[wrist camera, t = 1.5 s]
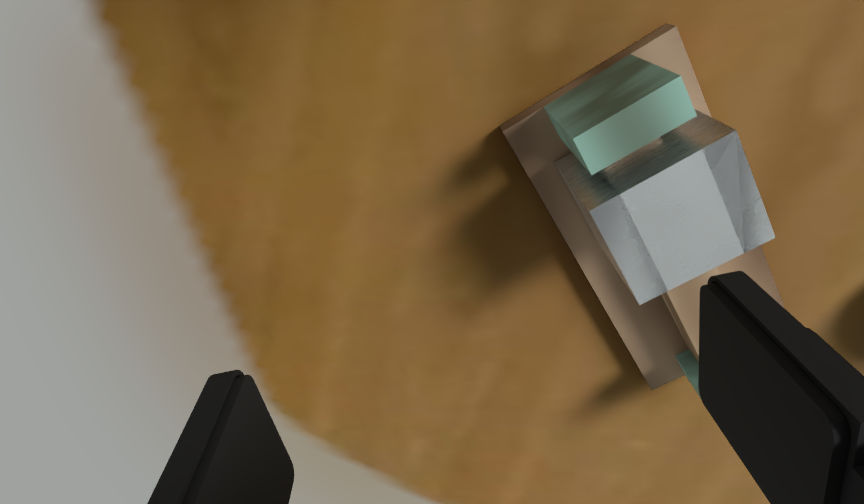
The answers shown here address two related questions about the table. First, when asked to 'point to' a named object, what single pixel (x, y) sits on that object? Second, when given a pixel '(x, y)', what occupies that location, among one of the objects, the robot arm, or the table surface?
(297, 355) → the table surface
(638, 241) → the grey sliding block
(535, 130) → the rail bed
